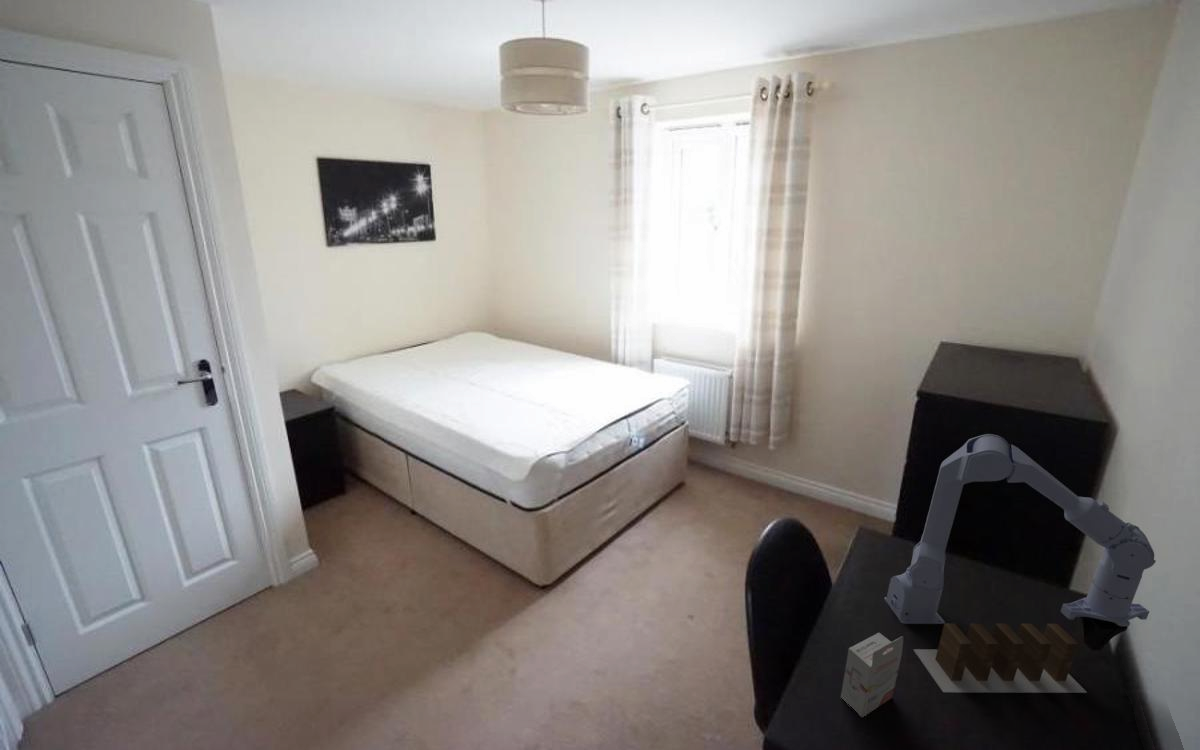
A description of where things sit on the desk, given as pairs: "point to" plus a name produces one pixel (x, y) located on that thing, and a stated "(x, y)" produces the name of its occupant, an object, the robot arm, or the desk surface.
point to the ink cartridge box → (871, 673)
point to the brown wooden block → (1059, 652)
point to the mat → (995, 680)
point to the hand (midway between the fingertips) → (1091, 646)
